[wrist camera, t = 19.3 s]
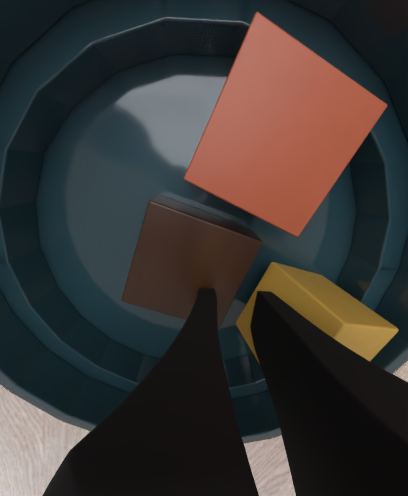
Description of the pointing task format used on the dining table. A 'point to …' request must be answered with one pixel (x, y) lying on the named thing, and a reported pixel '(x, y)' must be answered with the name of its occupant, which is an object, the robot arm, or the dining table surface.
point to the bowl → (170, 186)
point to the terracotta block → (281, 129)
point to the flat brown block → (187, 259)
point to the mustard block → (322, 310)
